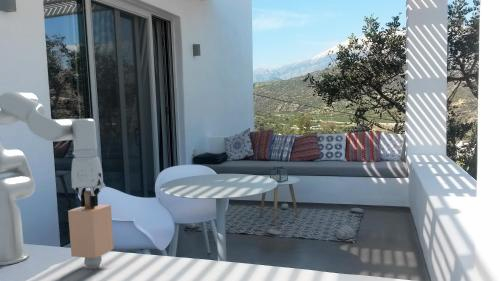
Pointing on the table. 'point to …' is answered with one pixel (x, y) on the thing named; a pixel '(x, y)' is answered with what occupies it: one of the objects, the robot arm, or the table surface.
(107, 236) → the cover
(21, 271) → the table surface
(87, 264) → the salt shaker
